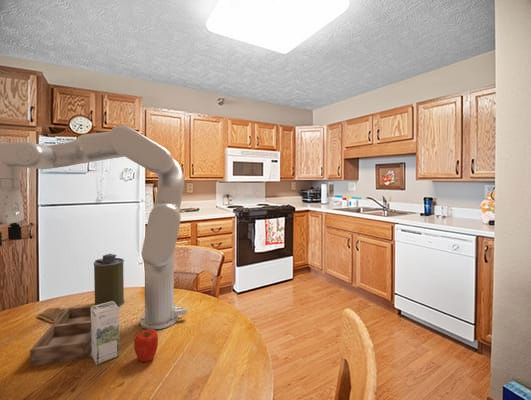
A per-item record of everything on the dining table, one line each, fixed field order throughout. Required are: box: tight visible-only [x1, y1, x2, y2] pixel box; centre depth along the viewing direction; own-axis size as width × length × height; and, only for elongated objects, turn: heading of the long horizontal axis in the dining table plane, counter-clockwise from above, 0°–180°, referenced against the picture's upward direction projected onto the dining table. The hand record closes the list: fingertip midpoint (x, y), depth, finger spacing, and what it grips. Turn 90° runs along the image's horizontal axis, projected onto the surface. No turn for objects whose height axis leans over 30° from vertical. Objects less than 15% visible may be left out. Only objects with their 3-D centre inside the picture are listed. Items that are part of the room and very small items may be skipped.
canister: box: [93, 253, 125, 308], centre depth 108 cm, size 11×10×20 cm
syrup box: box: [90, 301, 120, 365], centre depth 76 cm, size 6×6×14 cm
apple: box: [133, 329, 159, 363], centre depth 75 cm, size 6×6×8 cm
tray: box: [29, 304, 95, 367], centre depth 85 cm, size 13×25×4 cm, turn 17°
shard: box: [36, 306, 67, 324], centre depth 97 cm, size 11×8×2 cm
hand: (5, 242), depth 80 cm, fingers open, 9 cm apart
